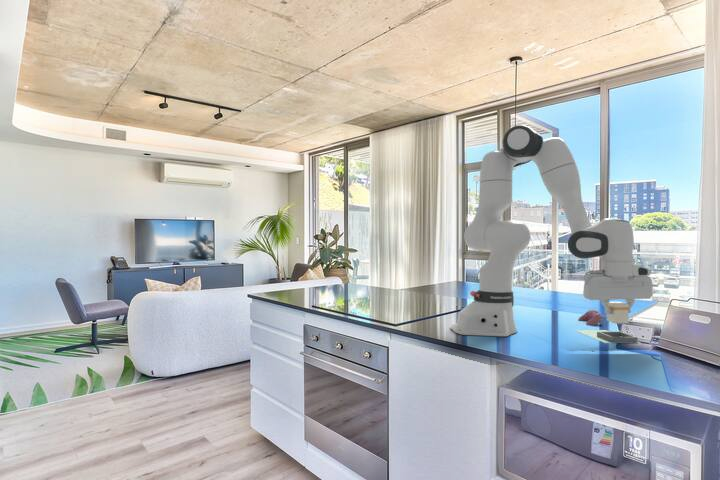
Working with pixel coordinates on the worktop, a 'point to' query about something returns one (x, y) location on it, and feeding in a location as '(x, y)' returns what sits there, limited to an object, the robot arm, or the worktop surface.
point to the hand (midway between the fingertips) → (617, 313)
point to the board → (610, 336)
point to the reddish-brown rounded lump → (591, 317)
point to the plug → (618, 313)
